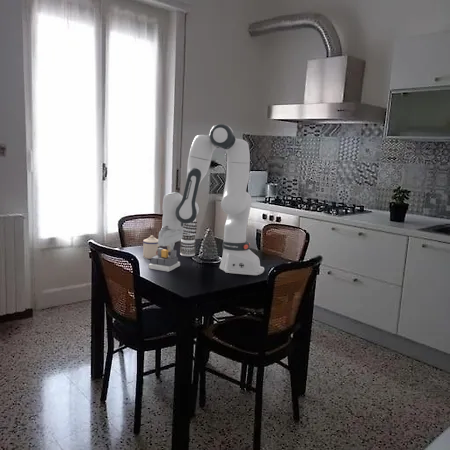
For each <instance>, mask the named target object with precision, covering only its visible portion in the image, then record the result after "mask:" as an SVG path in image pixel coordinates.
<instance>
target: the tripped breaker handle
mask: <svg viewBox="0 0 450 450" xmlns="http://www.w3.org/2000/svg"><path fill="white" fill-rule="evenodd" d="M168 256H169V252H168V250H167V249H166V248H164V249H163V250H161V257H164V258H166V257H168Z"/></svg>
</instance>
